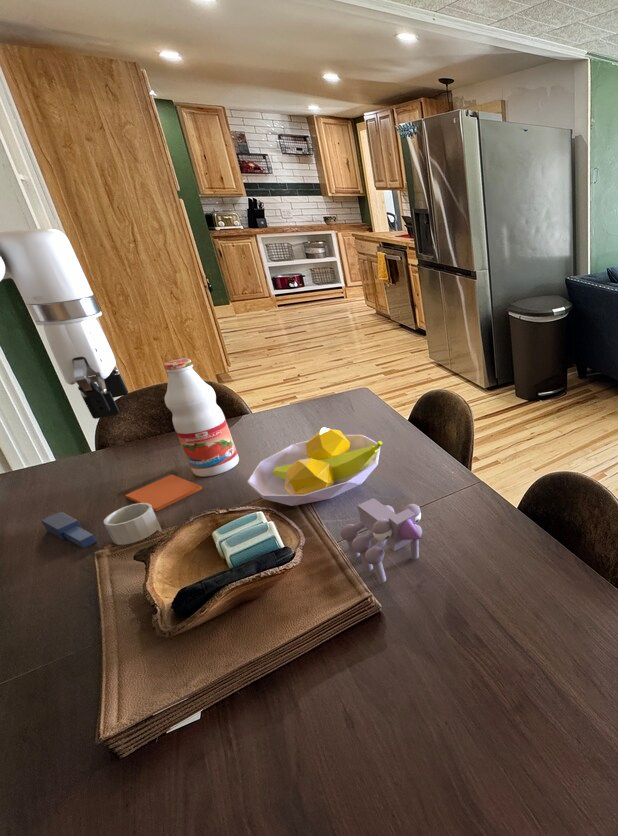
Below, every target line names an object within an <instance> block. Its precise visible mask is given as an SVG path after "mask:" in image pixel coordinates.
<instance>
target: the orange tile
mask: <svg viewBox="0 0 618 836" xmlns="http://www.w3.org/2000/svg"><path fill="white" fill-rule="evenodd" d="M202 490H203V487H202V485H200V484H197V483H194V482H192V481H189V480H187V479H184V478H182V477H179V476H177V475H174V474H169V475H167V476H165V477H164V478H163V477H162V478H161V479H158V480H156V481H154V482H152V483H149V484H147V485H145V486H143V487H141V488H138V489H135V490H133V491H132V492H129V493H127V494H125V498H126V499H127V500H130V501H131V502H135V504H137V503H148V504H151V506H152V508H153V510H154V512H158V511H160V510H163V509H164V508H166V507H169V506H170V505H172V504H174V503H177V502H179V501H181V500H183V499H185V498H187V497H189V496H191V495H193V494H195V493H197V492H199V491H202Z"/></svg>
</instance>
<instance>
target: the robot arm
mask: <svg viewBox="0 0 618 836" xmlns="http://www.w3.org/2000/svg"><path fill="white" fill-rule="evenodd" d="M7 279H11V280H12V281H13V282H14V284H15V286H16V289H17V290H18V292H19V294H20V296H21V297H22V299H23V302H24V303H25V306H26V307H27V309H28V311H29V313H30V315H31V317H32V319H33V321H34V323H35V324H36V325H37V326H42V327H43V330H44V333H45V337H46V339H47V342H48V345H49V347H50V351H51V353H52V355H53V357H54V359H55V362H56V364H57V366H58V369H59V370H60V373H61V375H62V377H63V379H64V381H65V383H66V384H67V385H71V386H74V385H76V384H77V385H78V386H77V388H78V389H77V390H78V391H79V392H80V396H81V397H82V400H83V402H84V403H85V405H86V407H87V409H88V412H89V413H90V415H91V418H92V419H94V420H97V419H102V418H107V417H111V416H116V415H118V414H120V410H119V407H118V405H117V403H116V401H115V399H114V398H119V397H125V396H128V395H129V390H128V389H127V386H126V384H125V381H124V380H123V377H122V375H121V373H119V369H118V368H117V366H116V365H117V361H116V358H115V355H114V353H113V350H112V347H111V346H110V343H109V342H108V338H107V336H106V335H105V333H104V331H103V330H102V327H101V325H100V323H99V321H98V320H97V318H99V317H101V316H102V315H103V313H102V310H101V308H100V305H99V303H98V302H97V299H96V297H95V294H94V292H93V290H92V288H91V286H90V284H89V281H88V279H87V277H86V275H85V272H84V271H83V268H82V266H81V264H80V261H79V259H78V257H77V255H76V253H75V250H74V248H73V246H72V243H71V242H70V240H69V238H68V237H67V235H66V234H65V233H64V232H62V231H60V230H58V229H53V228H30V229H29V228H27V229H14V230H13V229H11V230H5V231H1V232H0V282H2V281H3V280H7Z"/></svg>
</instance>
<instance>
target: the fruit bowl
mask: <svg viewBox="0 0 618 836" xmlns="http://www.w3.org/2000/svg"><path fill="white" fill-rule="evenodd" d="M383 445H384V443H383V442H382V441H381V440H378V441H375V440H373V439H371V438H370V437H368V436H366V435H364V434H343V432H342V431H341V430H340V429H334V428H327V427H322V428H320V430H318V432H316V434H314V435H313V436H312V437H311V438H310V439H309V440H304V441H301V442H297V443H293V444H290V445H289V446H287V447H284V448H283V449H282V450H280V451H278V452H276V453H274V454H272V455H270V456H268V457H266V458H264V459H262V460H261V461H260V462H259V463H258V464H257V466H256V467H255V469H254V471H253V472H252V473H251V475H250V477H249V478H248V480H247V484H248V485H250V487H251V488H252V489H253V490H254V491H255V492H256V493H257V494H258V495H259V497H261V498H262V499H263V500H265V501H266V500H267V501H271V502H274V503H277V504H278V503H279V504H281V505H286V506H291V507H294V506H299V505H305V504H310V503H316V502H320V501H325V500H330V499H332V498H334V497H336V496H339V495H341V494H343V493H346V492H347V491H349V490H352V489H354V488H357V487H358V486H361V485H362V484H363V483H364V482H365V480H366V479H367V478H368V477H369V476H370V475H371V473H372V472H373V471H374V470H375V469H376V468H377V466H378V465H379V459H380V453H381V446H383Z"/></svg>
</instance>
